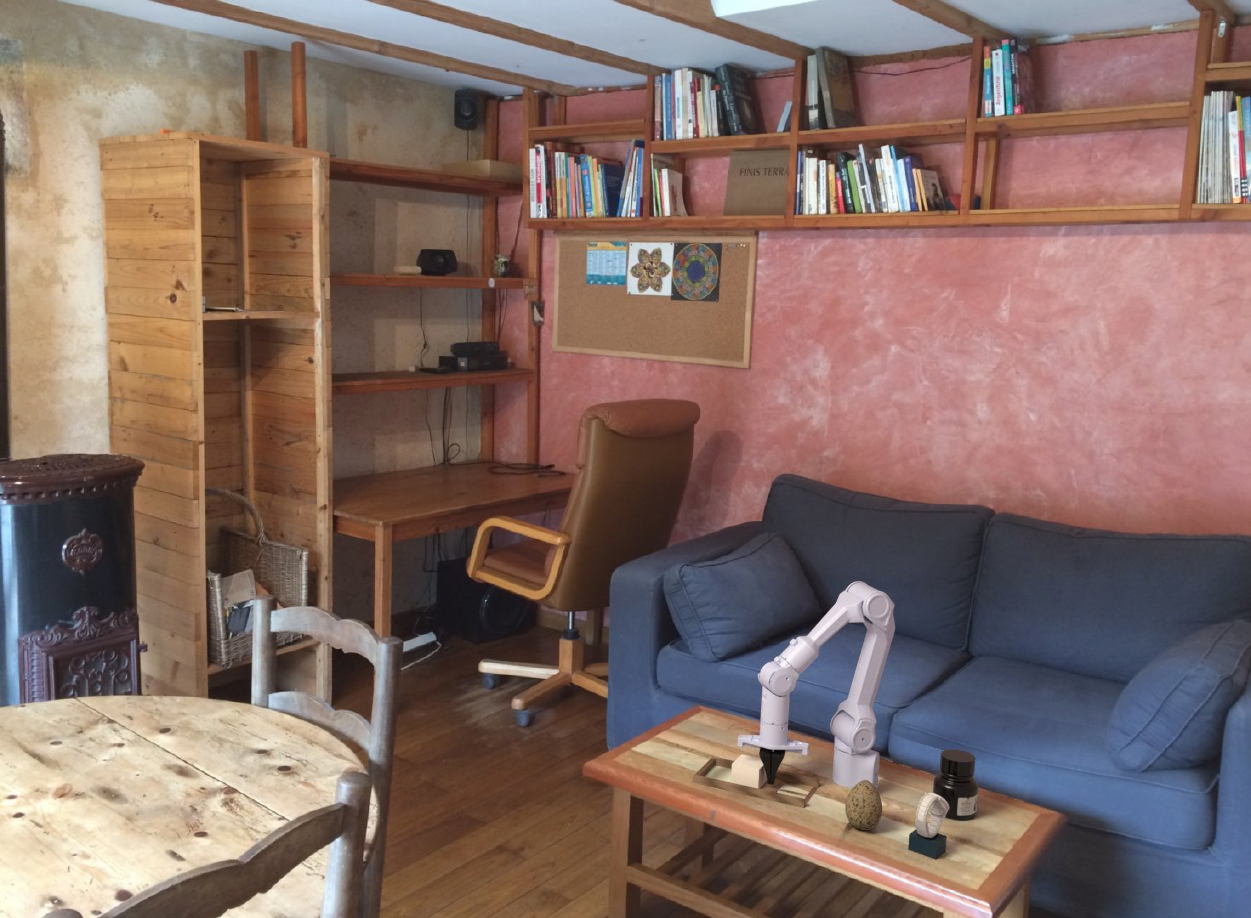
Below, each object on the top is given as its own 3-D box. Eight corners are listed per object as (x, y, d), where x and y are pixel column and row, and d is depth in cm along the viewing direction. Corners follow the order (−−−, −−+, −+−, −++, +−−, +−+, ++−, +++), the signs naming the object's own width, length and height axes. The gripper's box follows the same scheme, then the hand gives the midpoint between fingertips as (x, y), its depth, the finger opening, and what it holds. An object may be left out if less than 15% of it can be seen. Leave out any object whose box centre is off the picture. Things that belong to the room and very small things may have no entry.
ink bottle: (969, 825, 220) (974, 768, 218) (925, 814, 224) (929, 758, 223) (981, 808, 228) (986, 752, 227) (938, 797, 233) (943, 743, 231)
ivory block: (767, 779, 235) (768, 759, 234) (757, 790, 229) (759, 769, 229) (740, 773, 237) (741, 753, 237) (730, 784, 232) (731, 763, 231)
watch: (950, 848, 210) (954, 793, 209) (931, 862, 204) (935, 806, 203) (922, 838, 214) (926, 784, 212) (903, 852, 208) (907, 796, 206)
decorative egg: (888, 829, 217) (891, 781, 216) (866, 840, 212) (869, 791, 211) (858, 816, 222) (861, 769, 221) (836, 826, 217) (839, 778, 216)
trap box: (818, 792, 233) (819, 778, 233) (803, 814, 222) (803, 800, 222) (712, 769, 243) (712, 756, 242) (692, 789, 232) (692, 776, 232)
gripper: (811, 717, 231) (807, 779, 233) (742, 709, 235) (739, 770, 236) (808, 729, 224) (804, 793, 226) (737, 720, 228) (734, 783, 230)
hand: (770, 782), depth 231 cm, fingers closed
